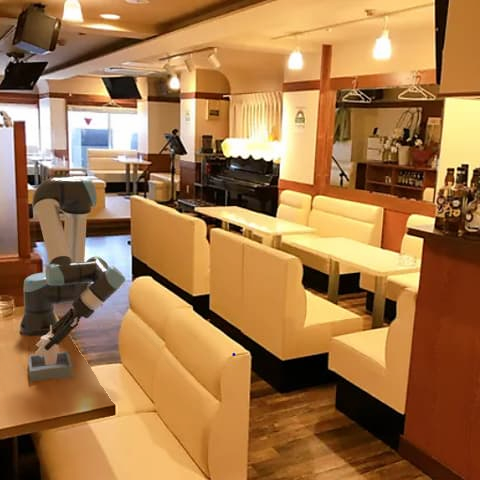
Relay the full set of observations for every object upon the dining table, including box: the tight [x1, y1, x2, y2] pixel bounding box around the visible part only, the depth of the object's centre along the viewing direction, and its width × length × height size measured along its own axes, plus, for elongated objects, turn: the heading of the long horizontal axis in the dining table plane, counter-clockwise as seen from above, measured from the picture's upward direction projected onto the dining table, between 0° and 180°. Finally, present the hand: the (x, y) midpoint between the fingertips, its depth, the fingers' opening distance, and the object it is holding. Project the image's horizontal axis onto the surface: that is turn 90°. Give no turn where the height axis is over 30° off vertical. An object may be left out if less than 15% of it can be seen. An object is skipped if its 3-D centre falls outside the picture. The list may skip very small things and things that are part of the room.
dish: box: [27, 351, 73, 382], centre depth 198 cm, size 14×14×4 cm
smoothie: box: [40, 325, 59, 366], centre depth 197 cm, size 6×6×14 cm
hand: (38, 350), depth 196 cm, fingers closed on smoothie, 6 cm apart
